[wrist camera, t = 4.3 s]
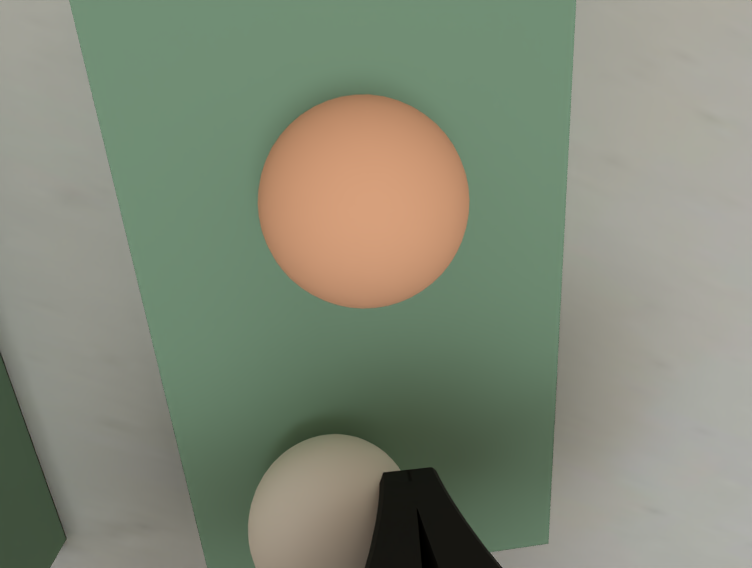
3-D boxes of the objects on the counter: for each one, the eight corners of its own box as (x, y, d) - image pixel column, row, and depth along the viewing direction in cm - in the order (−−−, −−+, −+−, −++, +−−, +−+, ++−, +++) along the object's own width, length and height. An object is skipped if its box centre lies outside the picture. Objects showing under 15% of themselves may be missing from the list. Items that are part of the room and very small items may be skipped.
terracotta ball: (444, 262, 13) (498, 330, 9) (280, 279, 12) (265, 357, 9) (439, 88, 11) (500, 83, 8) (255, 102, 11) (224, 104, 7)
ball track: (513, 477, 19) (548, 543, 16) (-34, 552, 18) (-100, 639, 15) (525, -66, 13) (582, -110, 10) (-290, -21, 12) (-480, -58, 9)
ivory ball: (446, 576, 13) (354, 698, 10) (325, 528, 16) (217, 615, 12) (444, 428, 13) (345, 507, 10) (319, 399, 15) (204, 455, 12)
